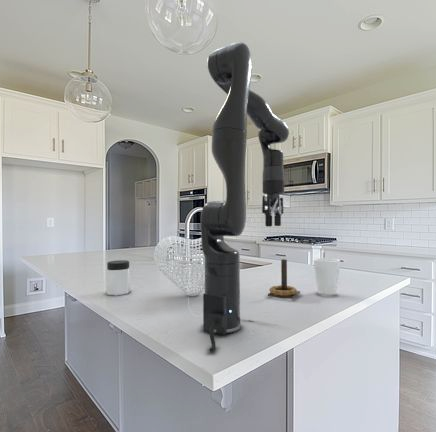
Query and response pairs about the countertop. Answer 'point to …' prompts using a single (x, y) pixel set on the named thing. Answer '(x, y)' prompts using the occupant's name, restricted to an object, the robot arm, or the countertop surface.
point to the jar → (118, 277)
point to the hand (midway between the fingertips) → (273, 226)
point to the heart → (170, 239)
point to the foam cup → (326, 275)
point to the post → (284, 280)
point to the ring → (278, 291)
